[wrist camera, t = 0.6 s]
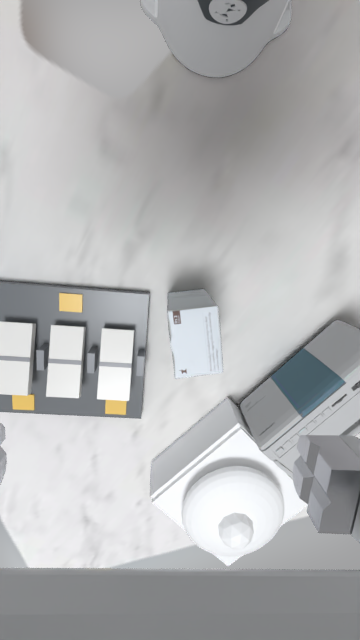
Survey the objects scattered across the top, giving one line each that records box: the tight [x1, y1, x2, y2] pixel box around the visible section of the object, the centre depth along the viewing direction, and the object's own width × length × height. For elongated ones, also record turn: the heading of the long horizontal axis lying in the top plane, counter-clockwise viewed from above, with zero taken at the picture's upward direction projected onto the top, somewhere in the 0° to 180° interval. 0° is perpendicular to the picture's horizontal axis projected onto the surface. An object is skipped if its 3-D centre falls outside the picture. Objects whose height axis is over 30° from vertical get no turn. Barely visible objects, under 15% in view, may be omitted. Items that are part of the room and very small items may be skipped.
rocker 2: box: [46, 325, 86, 398], centre depth 47 cm, size 10×4×2 cm, turn 175°
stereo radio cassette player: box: [240, 320, 360, 478], centre depth 45 cm, size 21×8×20 cm, turn 134°
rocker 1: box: [0, 321, 36, 396], centre depth 47 cm, size 10×4×2 cm, turn 175°
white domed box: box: [150, 397, 308, 566], centre depth 51 cm, size 18×18×16 cm
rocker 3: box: [97, 328, 135, 401], centre depth 48 cm, size 10×4×2 cm, turn 175°
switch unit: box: [0, 281, 150, 419], centre depth 49 cm, size 20×22×5 cm
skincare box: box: [167, 289, 223, 379], centre depth 44 cm, size 8×6×15 cm
